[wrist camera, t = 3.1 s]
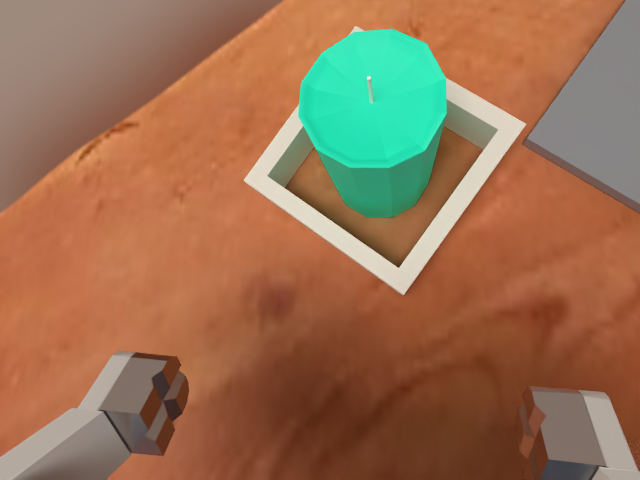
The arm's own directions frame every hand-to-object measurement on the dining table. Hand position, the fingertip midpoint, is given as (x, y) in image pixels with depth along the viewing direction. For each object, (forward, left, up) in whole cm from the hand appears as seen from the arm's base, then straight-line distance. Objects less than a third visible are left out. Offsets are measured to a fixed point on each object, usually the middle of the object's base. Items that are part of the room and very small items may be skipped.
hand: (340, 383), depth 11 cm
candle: (-8, -5, -17) cm, 19 cm away
